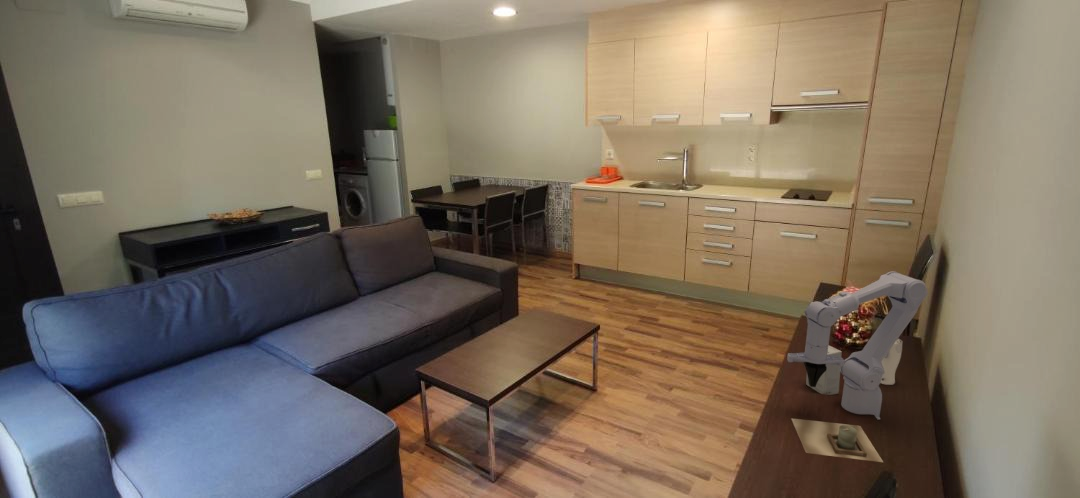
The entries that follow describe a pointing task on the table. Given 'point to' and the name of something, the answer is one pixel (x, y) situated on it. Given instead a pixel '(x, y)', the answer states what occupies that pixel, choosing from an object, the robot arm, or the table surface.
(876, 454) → the board
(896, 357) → the beer glass
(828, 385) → the skincare box
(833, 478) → the table surface
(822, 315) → the robot arm
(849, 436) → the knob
